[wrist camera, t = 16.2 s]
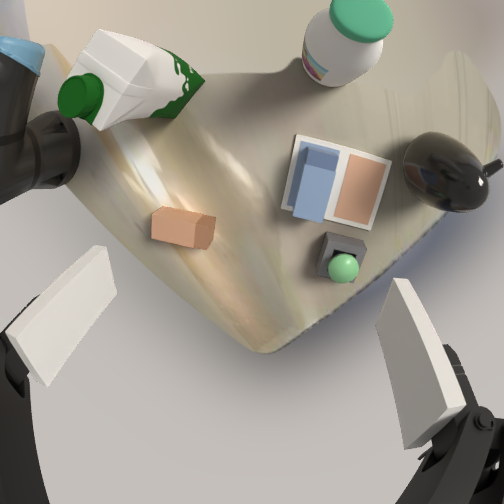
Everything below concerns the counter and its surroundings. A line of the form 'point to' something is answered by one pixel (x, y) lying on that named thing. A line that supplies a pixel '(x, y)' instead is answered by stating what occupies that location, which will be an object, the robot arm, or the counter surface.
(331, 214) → the picture board
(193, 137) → the counter surface
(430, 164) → the pump dispenser
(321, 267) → the button housing
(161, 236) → the block
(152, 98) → the milk carton
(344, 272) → the button
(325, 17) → the milk bottle
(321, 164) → the block
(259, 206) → the counter surface
